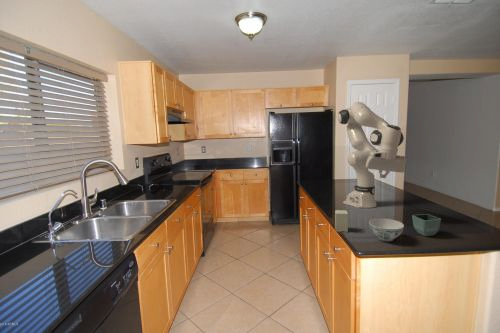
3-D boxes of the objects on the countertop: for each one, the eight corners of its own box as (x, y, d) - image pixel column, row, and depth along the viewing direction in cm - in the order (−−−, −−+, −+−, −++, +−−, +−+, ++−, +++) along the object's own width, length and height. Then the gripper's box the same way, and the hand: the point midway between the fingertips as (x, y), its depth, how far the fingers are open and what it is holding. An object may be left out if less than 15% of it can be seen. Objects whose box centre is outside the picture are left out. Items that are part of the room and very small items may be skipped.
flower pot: (410, 231, 131) (411, 214, 130) (426, 230, 132) (427, 213, 131) (423, 238, 123) (424, 220, 121) (440, 237, 123) (441, 219, 122)
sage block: (335, 231, 136) (335, 213, 135) (335, 227, 142) (335, 210, 141) (347, 232, 135) (347, 213, 133) (346, 228, 140) (346, 210, 139)
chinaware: (362, 237, 127) (362, 222, 126) (380, 230, 135) (381, 216, 134) (391, 248, 114) (391, 231, 113) (410, 240, 122) (410, 224, 121)
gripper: (405, 155, 144) (400, 178, 148) (367, 151, 148) (363, 174, 152) (409, 157, 138) (404, 181, 142) (370, 153, 142) (365, 177, 146)
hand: (382, 177), depth 147 cm, fingers closed
